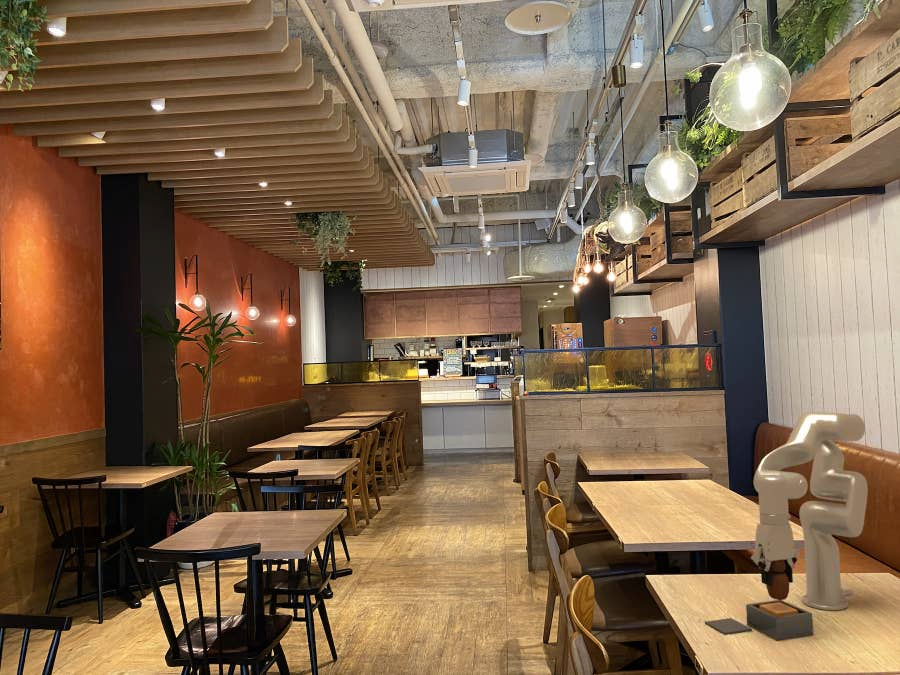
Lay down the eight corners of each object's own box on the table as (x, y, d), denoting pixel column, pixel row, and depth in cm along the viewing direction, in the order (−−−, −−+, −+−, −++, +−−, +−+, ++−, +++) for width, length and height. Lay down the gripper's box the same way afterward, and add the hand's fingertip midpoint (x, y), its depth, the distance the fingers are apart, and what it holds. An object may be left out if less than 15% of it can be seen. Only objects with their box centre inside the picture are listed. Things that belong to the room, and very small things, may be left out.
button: (780, 607, 199) (779, 602, 199) (798, 616, 192) (797, 610, 192) (759, 610, 197) (759, 605, 197) (777, 619, 190) (776, 613, 191)
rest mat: (731, 620, 203) (731, 618, 203) (752, 631, 195) (752, 628, 195) (704, 623, 201) (704, 621, 201) (724, 635, 192) (724, 632, 192)
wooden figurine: (792, 602, 191) (789, 548, 192) (770, 601, 192) (767, 547, 193) (785, 594, 198) (783, 541, 198) (764, 593, 199) (761, 541, 200)
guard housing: (781, 620, 202) (780, 599, 202) (813, 635, 190) (812, 613, 191) (747, 625, 199) (746, 604, 199) (776, 640, 187) (775, 618, 187)
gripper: (789, 514, 202) (792, 575, 201) (739, 519, 197) (742, 582, 197) (809, 519, 195) (812, 583, 194) (757, 524, 190) (760, 590, 189)
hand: (777, 582), depth 195 cm, fingers closed on wooden figurine, 6 cm apart
